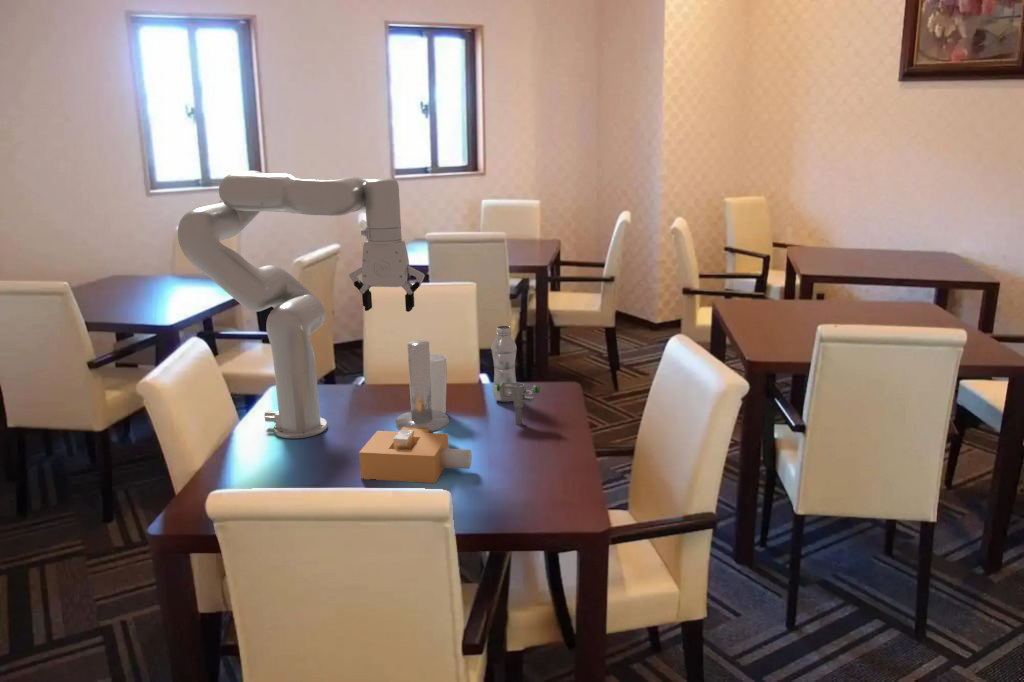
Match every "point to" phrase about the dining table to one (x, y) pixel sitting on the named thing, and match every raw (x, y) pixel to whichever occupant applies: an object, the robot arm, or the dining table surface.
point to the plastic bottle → (503, 359)
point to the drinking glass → (438, 381)
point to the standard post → (421, 392)
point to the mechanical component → (517, 396)
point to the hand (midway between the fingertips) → (388, 309)
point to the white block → (404, 440)
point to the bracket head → (410, 457)
